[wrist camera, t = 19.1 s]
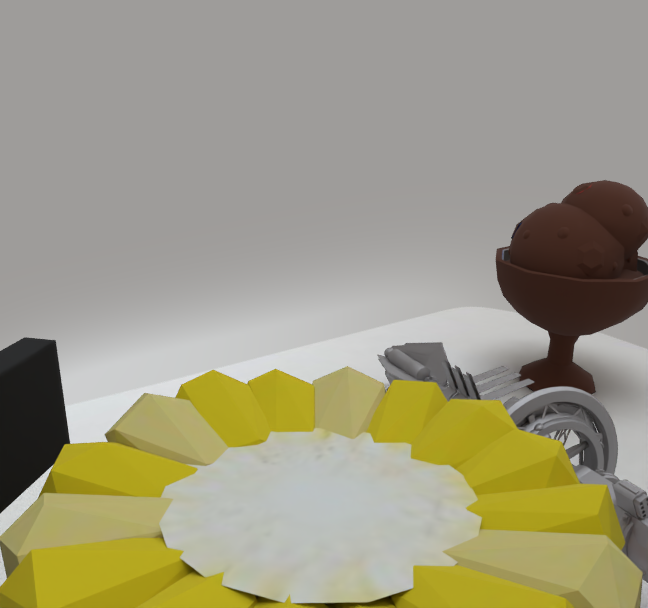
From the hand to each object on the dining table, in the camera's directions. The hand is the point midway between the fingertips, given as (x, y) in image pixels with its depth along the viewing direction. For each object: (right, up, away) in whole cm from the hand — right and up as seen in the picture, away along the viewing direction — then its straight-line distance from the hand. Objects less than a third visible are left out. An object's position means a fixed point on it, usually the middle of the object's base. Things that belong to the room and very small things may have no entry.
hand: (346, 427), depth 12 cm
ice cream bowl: (+17, -4, +33) cm, 37 cm away
